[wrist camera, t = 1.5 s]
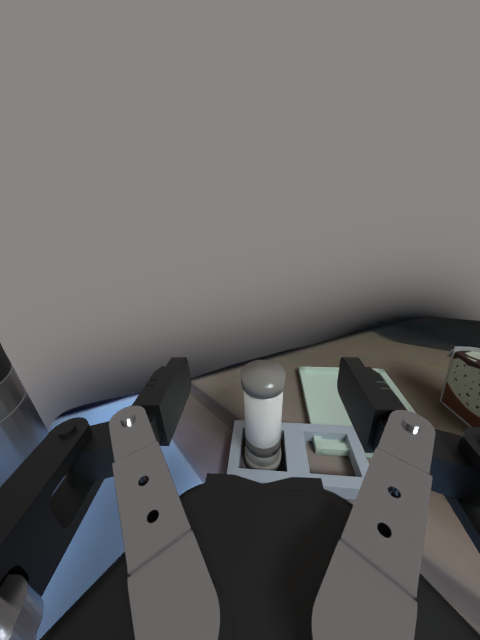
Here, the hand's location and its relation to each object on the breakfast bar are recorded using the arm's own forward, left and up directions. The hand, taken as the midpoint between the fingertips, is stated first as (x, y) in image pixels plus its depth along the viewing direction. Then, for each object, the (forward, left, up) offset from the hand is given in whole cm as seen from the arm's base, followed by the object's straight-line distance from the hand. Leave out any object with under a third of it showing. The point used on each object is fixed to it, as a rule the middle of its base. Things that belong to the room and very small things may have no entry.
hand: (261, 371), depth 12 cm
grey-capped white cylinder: (0, +11, -22) cm, 25 cm away
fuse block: (+4, +11, -22) cm, 25 cm away
